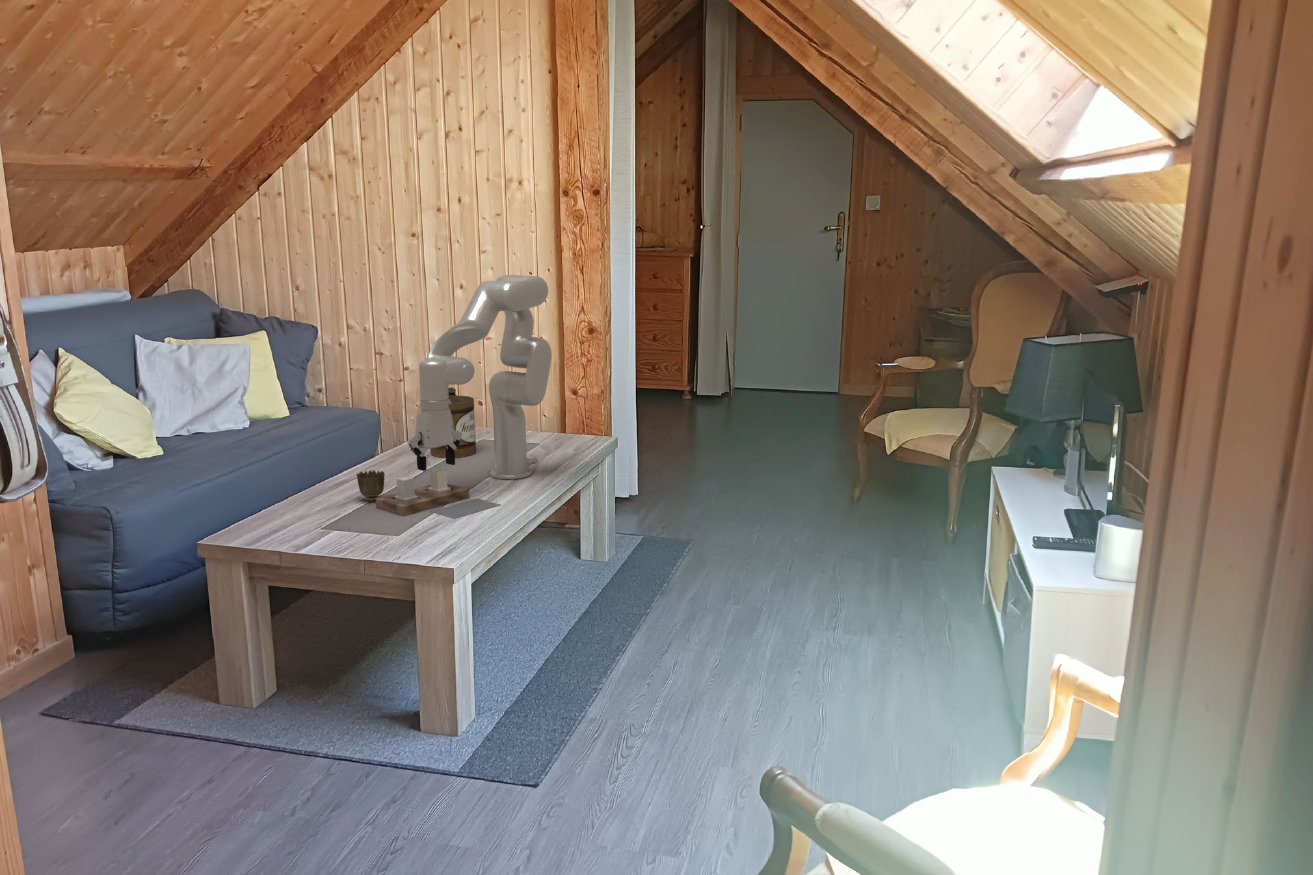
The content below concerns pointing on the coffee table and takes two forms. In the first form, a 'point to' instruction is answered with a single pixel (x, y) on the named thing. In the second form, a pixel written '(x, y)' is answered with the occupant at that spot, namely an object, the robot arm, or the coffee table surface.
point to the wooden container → (460, 425)
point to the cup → (371, 484)
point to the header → (422, 500)
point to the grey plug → (405, 489)
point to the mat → (465, 508)
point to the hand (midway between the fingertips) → (436, 467)
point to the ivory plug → (438, 481)
